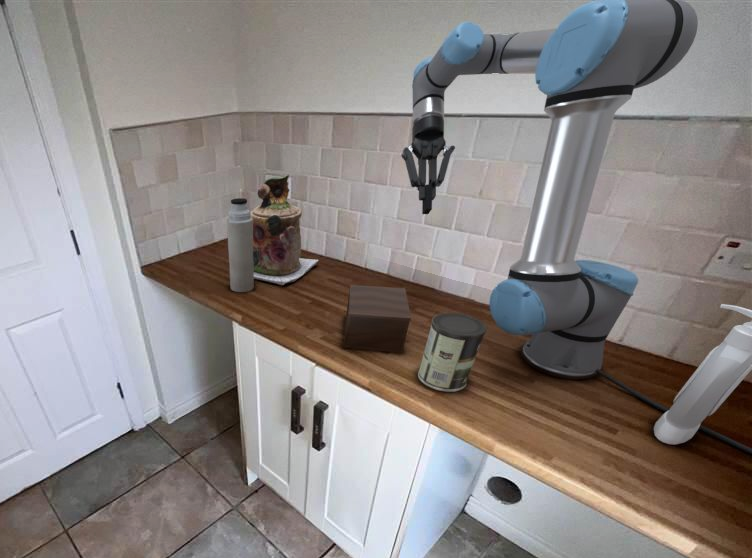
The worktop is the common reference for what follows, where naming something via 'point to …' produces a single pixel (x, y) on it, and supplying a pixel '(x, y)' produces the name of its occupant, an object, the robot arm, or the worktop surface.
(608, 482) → the worktop surface
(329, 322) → the worktop surface
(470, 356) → the coffee can
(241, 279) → the thermos bottle
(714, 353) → the soap bottle
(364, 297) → the lid
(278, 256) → the cookie jar
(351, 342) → the chest
